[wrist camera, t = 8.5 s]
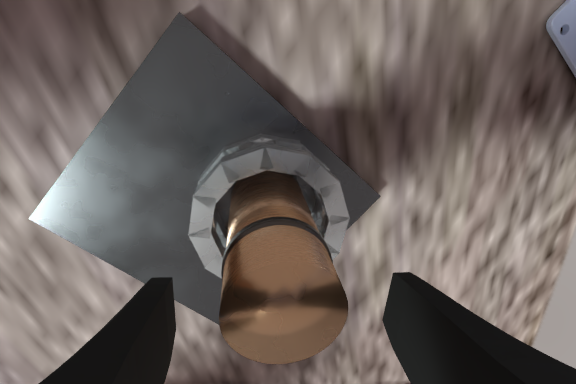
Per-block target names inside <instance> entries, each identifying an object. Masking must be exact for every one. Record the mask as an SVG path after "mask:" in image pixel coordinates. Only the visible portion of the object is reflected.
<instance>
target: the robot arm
mask: <svg viewBox="0 0 576 384" xmlns="http://www.w3.org/2000/svg"><path fill="white" fill-rule="evenodd" d="M561 27H562V28H563V30H562V32H561V34H560V29H561ZM546 29H547V32H548V33H549V35H550V36H551V38H552V40H553V41H554V43H555V45H556V46H557V48H558V50H559V51H560V53H561V54H562V56H563V58H564V59H565V61H566V63H567V64H568V66H569V68H570V69H571V71H572V72H573V74H574V76H575V77H576V0H566V1H565V2H564V3H563V4H562V5H561V6H560V7H559V8H558V9H557V10H556V11H555V12H554V13H553V14H552V15H551V16H550V18H549V19H548V21H547V23H546ZM383 323H384V326H385V329H386V332H387V334H388V337H389V340H390V342H391V345H392V347H393V350H394V352H395V354H396V356H397V358H398V360H399V362H400V363H401V365H402V367H403V369H404V371H405V373H406V375H407V377H408V379H409V381H410V383H411V384H576V369H575V368H573V367H570V366H568V365H566V364H564V363H562V362H560V361H558V360H556V359H554V358H552V357H550V356H548V355H546V354H544V353H542V352H540V351H538V350H536V349H535V348H533V347H531V346H529V345H527V344H525V343H523V342H521V341H519V340H518V339H516V338H514V337H512V336H511V335H509V334H507V333H505V332H504V331H502V330H500V329H499V328H497V327H495V326H494V325H492V324H490V323H489V322H487V321H485V320H484V319H482V318H480V317H479V316H477V315H476V314H474V313H473V312H471V311H469V310H468V309H466V308H465V307H463V306H462V305H460V304H459V303H457V302H456V301H454V300H453V299H451V298H450V297H448V296H447V295H445V294H444V293H442V292H441V291H439V290H438V289H436V288H434V287H433V286H431V285H430V284H428V283H427V282H425V281H424V280H422V279H421V278H419V277H417V276H416V275H414V274H412V273H410V272H403V273H393V276H392V280H391V285H390V289H389V294H388V298H387V302H386V307H385V311H384V316H383ZM175 332H176V322H175V307H174V292H173V278H172V277H156V278H151V279H150V280H148V281H147V283H146V284H145V285H144V286H143V287H142V288H141V289H140V290H139V291H138V292H137V293H136V294H135V295H134V297H133V298H132V299H131V300H130V301H129V302H128V303H127V304H126V305H125V306H124V307H123V308H122V309H121V310H120V311H119V312H118V313H117V314H116V315H115V316H114V317H113V318H112V319H111V320H110V321H109V322H108V323H107V324H106V325H105V326H104V327H103V328H102V329H101V330H100V331H99V332H98V333H97V334H96V335H95V336H94V337H93V338H92V339H90V340H89V341H88V342H87V343H86V344H85V345H84V346H83V347H82V348H81V349H80V350H78V351H77V352H76V353H75V354H74V355H73V356H72V357H71V358H69V359H68V360H67V361H66V362H65V363H64V364H62V365H61V366H60V367H59V368H58V369H56V370H55V371H54V372H53V373H52V374H50V375H49V376H48V377H47V378H45V379H44V380H43V381H42V382H40V383H39V384H164V382H165V379H166V375H167V372H168V368H169V365H170V361H171V355H172V350H173V344H174V338H175Z"/></svg>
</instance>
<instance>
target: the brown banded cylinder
mask: <svg viewBox="0 0 576 384" xmlns="http://www.w3.org/2000/svg"><path fill="white" fill-rule="evenodd" d="M221 277H222V292H221V302H220V311H219V325H220V329H221V332H222V335H223V337H224V339H225V340H226V342H227V343H228V344H229V345H230V346H231V348H232V349H234V350H235V351H236V352H237V353H239V354H240V355H242V356H244V357H246V358H248V359H250V360H253V361H256V362H261V363H266V364H287V363H293V362H297V361H301V360H304V359H307V358H309V357H311V356H313V355H315V354H317V353H319V352H320V351H322V350H324V349H325V348H326V347H327V346H329V345H330V344H331V343H332V342H333V341H334V340H335V339H336V337H337V336H338V335H339V334H340V332H341V330H342V329H343V327H344V324H345V322H346V318H347V314H348V301H347V297H346V294H345V291H344V289H343V287H342V284H341V282H340V280H339V277H338V275H337V273H336V270H335V268H334V266H333V262H332V257H331V253H330V251H329V248H328V246H327V244H326V242H325V240H324V238H323V237H322V235H321V234H320V233H319V231H318V228H317V226H316V224H315V221H314V219H313V216H312V214H311V212H310V209H309V207H308V205H307V202H306V200H305V198H304V195H303V193H302V191H301V188H300V186H299V184H298V182H297V181H296V179H295V178H294V177H293V176H292V175H291V174H286V173H280V172H274V171H268V170H266V171H263V172H260V173H258V174H255V175H252V176H249V177H246V178H243V179H240V180H238V181H237V182H236V184H235V186H234V188H233V190H232V194H231V202H230V212H229V222H228V232H227V242H226V250H225V252H224V255H223V260H222V270H221Z"/></svg>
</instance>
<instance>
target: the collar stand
mask: <svg viewBox="0 0 576 384" xmlns="http://www.w3.org/2000/svg"><path fill="white" fill-rule="evenodd" d="M266 170H268V171H274V172H280V173H286V174H291V175H292V176H293V177H294V178H295V179H296V181H297V182H298V184H299V186H300V188H301V191H302V193H303V195H304V198H305V200H306V202H307V205H308V207H309V209H310V212H311V214H312V216H313V219H314V221H315V224H316V226H317V228H318V231H319V233H320V234H321V235H322V237H323V238H324V240H325V242H326V244H327V246H328V248H329V251H330V253H331V257H332V260H333V259H334V258H335V257H336V256H337V255H338V254H339V251H340V248H341V245H342V242H343V238H344V235H345V232H346V230H347V229H348V228H349V227H350V226H351V225H352V224H353V223H354V222H355V221H356V220H357V219H358V218H359V217H360V216H361V215H362V214H363V213H364V212H365V211H366V210H367V209H368V208H369V207H370V206H371V205H372V204H373V203H374V202H375V201H376V200H377V199H378V198H379V197H380V195H379V194H378V193H377V192H376V191H375V190H374V189H372V188H371V187H370V186H369V185H368V184H367V183H366V182H365V181H364V180H363V179H362V178H360V177H359V176H358V175H357V174H356V173H355V172H354V171H353V170H352V169H351V168H350V167H348V166H347V165H346V164H345V163H344V162H343V161H342V160H341V159H340V158H339V157H338V156H336V155H335V154H334V153H333V152H332V151H331V150H330V149H329V148H328V147H327V146H326V145H324V144H323V143H322V142H321V141H320V140H319V139H318V138H317V137H316V136H315V135H314V134H312V133H311V132H310V131H309V130H308V129H307V128H306V127H305V126H304V125H303V124H302V123H300V122H299V121H298V120H297V119H296V118H295V117H294V116H293V115H292V114H291V113H289V112H288V111H287V110H286V109H285V108H284V107H283V106H282V105H281V104H280V103H279V102H277V101H276V100H275V99H274V98H273V97H272V96H271V95H270V94H269V93H268V92H267V91H265V90H264V89H263V88H262V87H261V86H260V85H259V84H258V83H257V82H256V81H255V80H253V79H252V78H251V77H250V76H249V75H248V74H247V73H246V72H245V71H244V70H243V69H241V68H240V67H239V66H238V65H237V64H236V63H235V62H234V61H233V60H232V59H231V58H229V57H228V56H227V55H226V54H225V53H224V52H223V51H222V50H221V49H220V48H219V47H217V46H216V45H215V44H214V43H213V42H212V41H211V40H210V39H209V38H208V37H207V36H205V35H204V34H203V33H202V32H201V31H200V30H199V29H198V28H197V27H196V26H195V25H193V24H192V23H191V22H190V21H189V20H188V19H187V18H186V17H185V16H184V15H182V14H181V13H180V12H179V13H178V15H177V16H176V17H175V19H174V20H173V21H172V23H171V24H170V26H169V27H168V28H167V30H166V31H165V32H164V34H163V35H162V37H161V38H160V39H159V41H158V42H157V43H156V45H155V46H154V48H153V49H152V50H151V52H150V53H149V54H148V56H147V57H146V58H145V60H144V61H143V63H142V64H141V65H140V67H139V68H138V69H137V71H136V72H135V74H134V75H133V76H132V78H131V79H130V80H129V82H128V83H127V85H126V86H125V87H124V89H123V90H122V91H121V93H120V94H119V96H118V97H117V98H116V100H115V101H114V102H113V104H112V105H111V107H110V108H109V109H108V111H107V112H106V113H105V115H104V116H103V117H102V119H101V120H100V122H99V123H98V124H97V126H96V127H95V128H94V130H93V131H92V133H91V134H90V135H89V137H88V138H87V139H86V141H85V142H84V144H83V145H82V146H81V148H80V149H79V150H78V152H77V153H76V155H75V156H74V157H73V159H72V160H71V161H70V163H69V164H68V166H67V167H66V168H65V170H64V171H63V172H62V174H61V175H60V176H59V178H58V179H57V181H56V182H55V183H54V185H53V186H52V187H51V189H50V190H49V192H48V193H47V194H46V196H45V197H44V198H43V200H42V201H41V203H40V204H39V205H38V207H37V208H36V209H35V211H34V212H33V214H32V215H31V216H30V218H29V219H30V220H32V221H34V222H35V223H37V224H39V225H41V226H43V227H44V228H46V229H48V230H50V231H52V232H53V233H55V234H57V235H59V236H60V237H62V238H64V239H66V240H68V241H69V242H71V243H73V244H75V245H77V246H78V247H80V248H82V249H84V250H86V251H87V252H89V253H91V254H93V255H95V256H96V257H98V258H100V259H102V260H104V261H105V262H107V263H109V264H111V265H113V266H114V267H116V268H118V269H120V270H122V271H123V272H125V273H127V274H129V275H131V276H132V277H134V278H136V279H138V280H140V281H141V282H143V283H145V284H146V283H147V281H148V280H150V279H151V278H156V277H172V278H173V292H174V300H176V301H177V302H179V303H181V304H183V305H185V306H186V307H188V308H190V309H192V310H194V311H195V312H197V313H199V314H201V315H203V316H204V317H206V318H208V319H210V320H212V321H213V322H215V323H217V324H219V311H220V302H221V292H222V277H221V270H222V260H223V255H224V252H225V250H226V242H227V232H228V222H229V212H230V202H231V194H232V190H233V188H234V186H235V184H236V182H237V181H238V180H240V179H243V178H246V177H249V176H252V175H255V174H258V173H260V172H263V171H266Z"/></svg>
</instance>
